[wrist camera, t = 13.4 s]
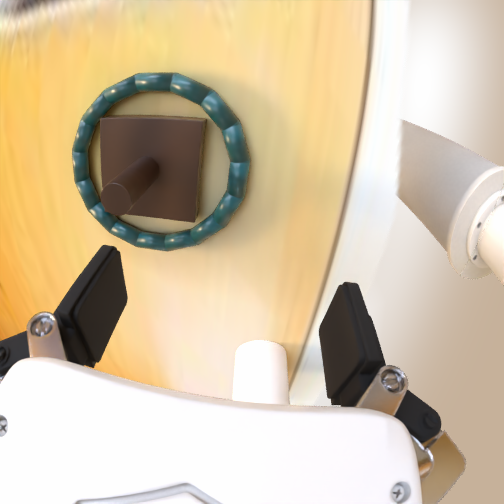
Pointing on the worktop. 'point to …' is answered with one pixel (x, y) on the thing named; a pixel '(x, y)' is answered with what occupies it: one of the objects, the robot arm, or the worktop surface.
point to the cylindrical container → (261, 373)
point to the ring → (216, 112)
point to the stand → (151, 165)
